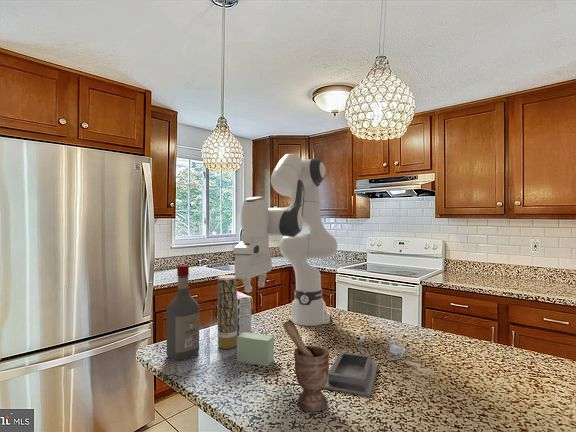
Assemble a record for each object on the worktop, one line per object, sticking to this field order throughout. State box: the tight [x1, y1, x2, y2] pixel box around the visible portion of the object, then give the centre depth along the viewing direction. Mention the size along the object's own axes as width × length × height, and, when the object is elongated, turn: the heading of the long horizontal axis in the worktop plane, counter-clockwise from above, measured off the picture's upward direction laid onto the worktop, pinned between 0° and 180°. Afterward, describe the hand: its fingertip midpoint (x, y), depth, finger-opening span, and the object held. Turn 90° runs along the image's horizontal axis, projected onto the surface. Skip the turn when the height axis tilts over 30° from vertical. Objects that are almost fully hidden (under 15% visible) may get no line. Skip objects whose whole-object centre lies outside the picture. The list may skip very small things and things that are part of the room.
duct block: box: [236, 332, 275, 367], centre depth 110 cm, size 4×11×8 cm, turn 70°
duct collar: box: [322, 351, 379, 398], centre depth 99 cm, size 20×13×3 cm, turn 160°
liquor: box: [166, 264, 200, 362], centre depth 115 cm, size 9×9×30 cm
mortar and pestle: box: [282, 319, 330, 412], centre depth 84 cm, size 12×9×20 cm
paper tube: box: [217, 274, 238, 350], centre depth 122 cm, size 7×7×25 cm
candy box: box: [237, 290, 252, 336], centre depth 133 cm, size 14×6×16 cm, turn 33°
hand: (255, 289), depth 110 cm, fingers open, 8 cm apart
